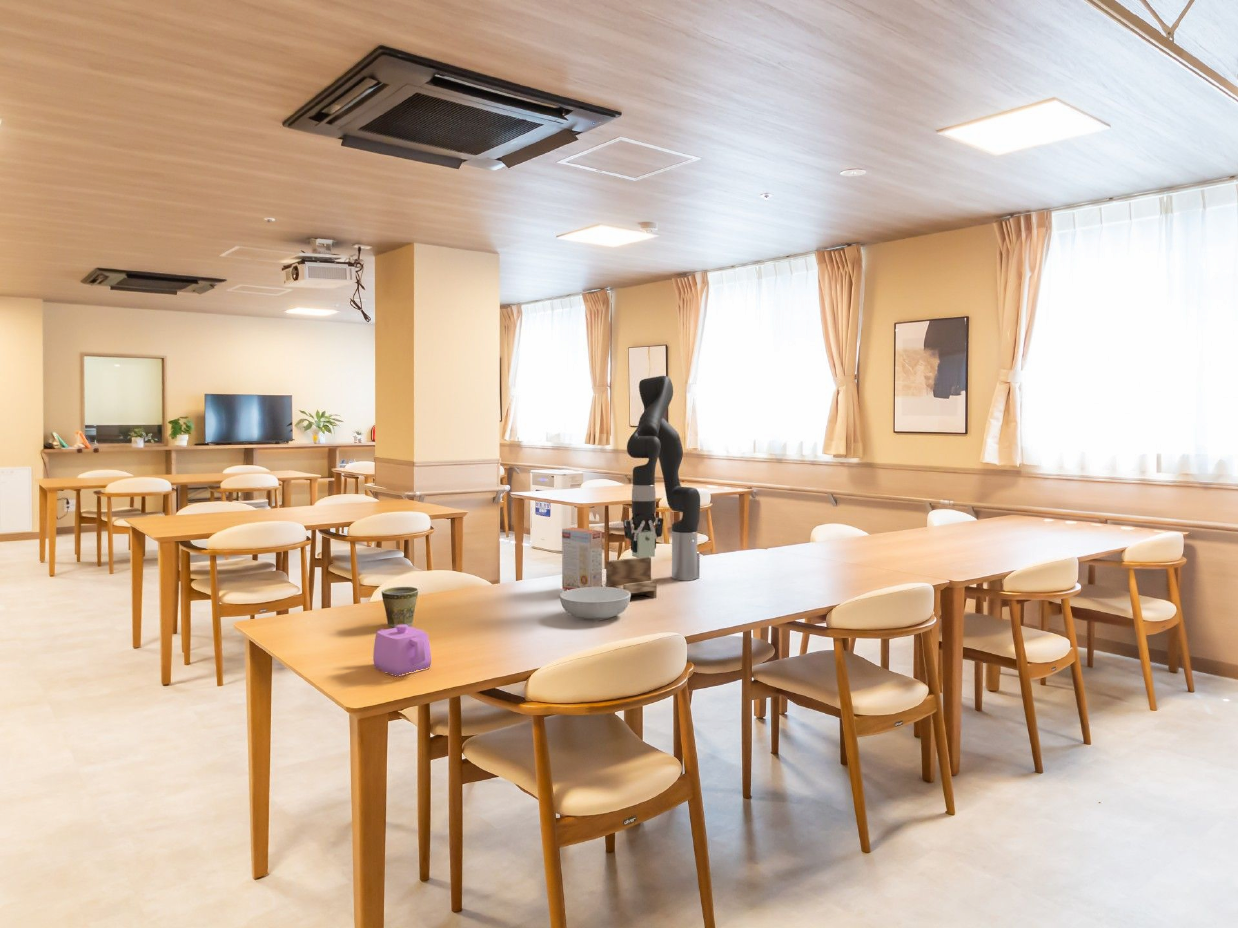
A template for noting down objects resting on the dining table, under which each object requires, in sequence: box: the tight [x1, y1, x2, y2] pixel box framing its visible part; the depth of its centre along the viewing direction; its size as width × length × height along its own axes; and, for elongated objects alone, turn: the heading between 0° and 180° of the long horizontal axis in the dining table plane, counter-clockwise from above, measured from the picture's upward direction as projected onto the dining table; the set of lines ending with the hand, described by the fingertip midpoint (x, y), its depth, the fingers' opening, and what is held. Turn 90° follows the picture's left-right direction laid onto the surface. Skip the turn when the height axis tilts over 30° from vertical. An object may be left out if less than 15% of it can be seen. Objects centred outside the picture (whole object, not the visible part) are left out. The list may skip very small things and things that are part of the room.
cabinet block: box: [631, 530, 656, 558], centre depth 262 cm, size 6×5×8 cm
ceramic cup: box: [381, 586, 419, 628], centre depth 234 cm, size 13×10×10 cm
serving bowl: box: [559, 586, 632, 621], centre depth 243 cm, size 21×21×7 cm
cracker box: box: [561, 527, 603, 591], centre depth 278 cm, size 14×6×21 cm, turn 46°
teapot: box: [372, 625, 432, 677], centre depth 194 cm, size 18×10×10 cm, turn 45°
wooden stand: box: [605, 557, 658, 599], centre depth 268 cm, size 16×8×12 cm, turn 120°
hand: (643, 551), depth 262 cm, fingers closed on cabinet block, 6 cm apart
